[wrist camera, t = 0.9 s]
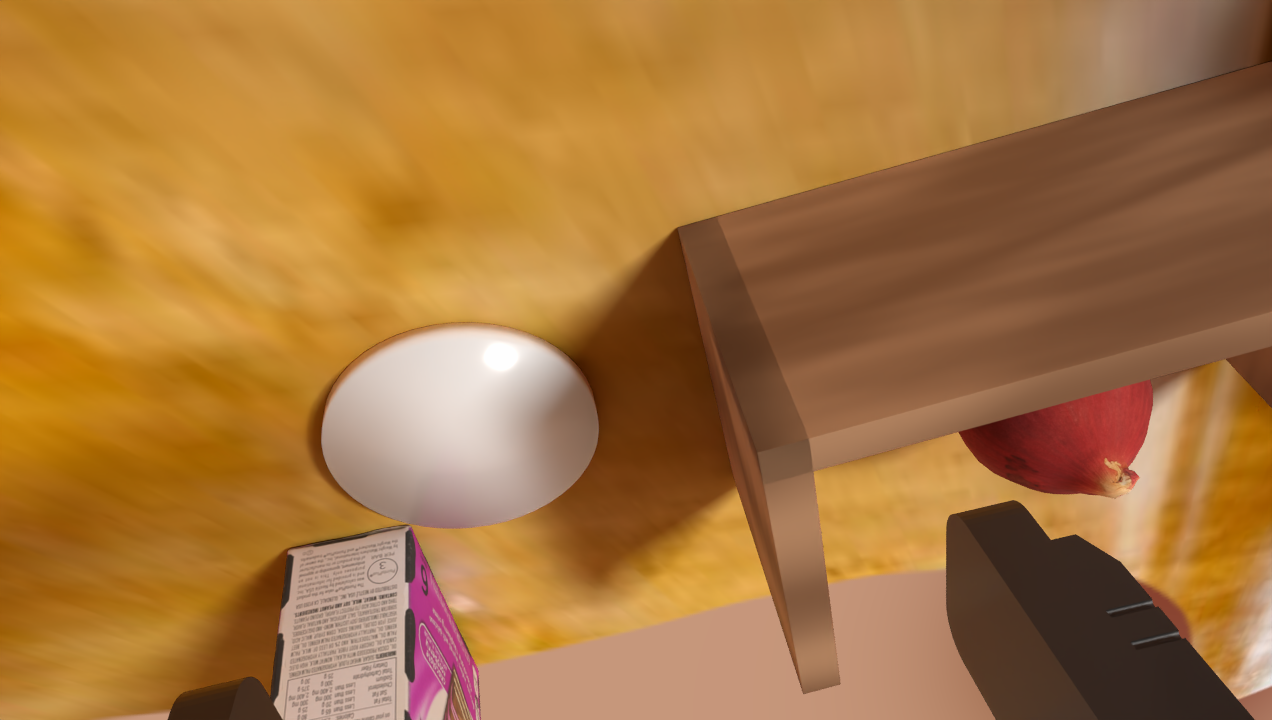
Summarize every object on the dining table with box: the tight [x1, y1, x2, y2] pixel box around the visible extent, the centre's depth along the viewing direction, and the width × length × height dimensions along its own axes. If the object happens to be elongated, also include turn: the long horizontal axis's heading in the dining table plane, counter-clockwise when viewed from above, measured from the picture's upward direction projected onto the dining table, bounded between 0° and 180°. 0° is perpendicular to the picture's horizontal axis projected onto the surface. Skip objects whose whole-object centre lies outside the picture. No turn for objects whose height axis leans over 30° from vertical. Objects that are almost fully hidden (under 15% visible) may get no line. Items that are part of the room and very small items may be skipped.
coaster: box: [321, 322, 599, 528], centre depth 31 cm, size 9×9×1 cm
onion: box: [959, 380, 1153, 499], centre depth 30 cm, size 6×6×8 cm
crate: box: [678, 61, 1272, 694], centre depth 28 cm, size 12×20×9 cm, turn 102°
